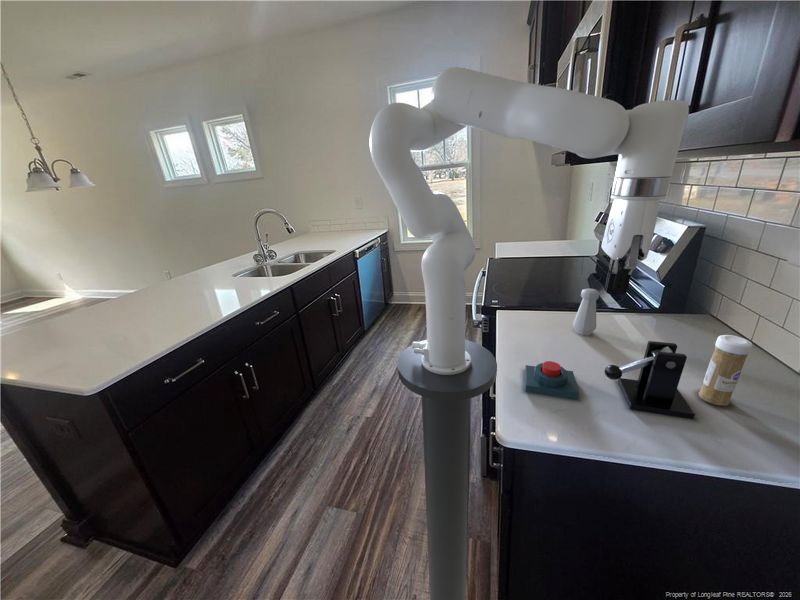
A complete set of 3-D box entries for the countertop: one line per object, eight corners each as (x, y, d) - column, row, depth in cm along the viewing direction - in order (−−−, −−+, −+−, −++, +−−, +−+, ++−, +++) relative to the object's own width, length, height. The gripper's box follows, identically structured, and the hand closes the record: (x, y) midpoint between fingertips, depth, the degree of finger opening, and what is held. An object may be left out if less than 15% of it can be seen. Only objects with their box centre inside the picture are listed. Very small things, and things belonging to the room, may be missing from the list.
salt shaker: (567, 329, 93) (573, 288, 88) (583, 326, 94) (590, 285, 89) (583, 338, 88) (591, 294, 83) (599, 334, 89) (608, 291, 84)
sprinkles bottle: (723, 410, 60) (748, 348, 55) (693, 397, 64) (713, 338, 59) (733, 401, 62) (757, 340, 57) (703, 389, 66) (723, 331, 61)
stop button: (542, 375, 68) (543, 369, 67) (541, 366, 71) (542, 360, 71) (560, 378, 67) (562, 371, 66) (559, 369, 70) (560, 362, 69)
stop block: (525, 391, 68) (526, 378, 67) (524, 371, 75) (526, 358, 74) (577, 399, 65) (580, 385, 64) (571, 377, 72) (574, 364, 71)
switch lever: (610, 384, 64) (603, 373, 64) (607, 376, 67) (600, 365, 66) (680, 364, 58) (672, 351, 58) (673, 356, 61) (666, 343, 61)
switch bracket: (629, 409, 62) (643, 357, 57) (617, 382, 69) (628, 334, 65) (693, 419, 58) (713, 365, 54) (673, 389, 66) (688, 340, 62)
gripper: (602, 187, 60) (585, 279, 67) (625, 192, 47) (600, 306, 54) (650, 186, 57) (626, 281, 64) (688, 192, 44) (653, 310, 51)
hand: (614, 292), depth 59 cm, fingers closed
